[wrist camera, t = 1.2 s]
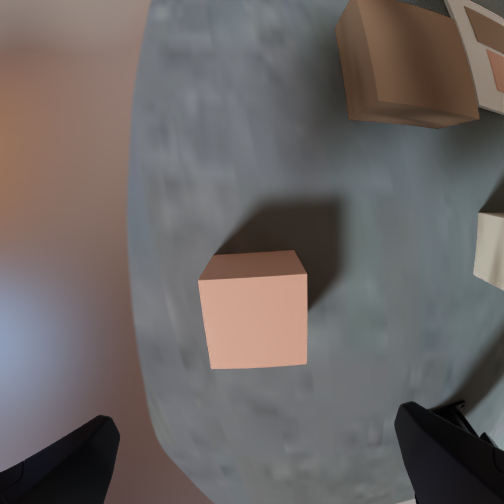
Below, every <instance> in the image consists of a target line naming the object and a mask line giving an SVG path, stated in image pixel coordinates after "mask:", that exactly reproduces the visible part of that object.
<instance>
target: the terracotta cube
mask: <svg viewBox="0 0 504 504" xmlns="http://www.w3.org/2000/svg"><path fill="white" fill-rule="evenodd" d="M198 283H199V291H200V298H201V306H202V313H203V319H204V326H205V332H206V339H207V345H208V351H209V357H210V363H211V369H236V368H260V367H277V366H290V365H301V364H307V273H306V271H305V269H304V267H303V266H302V264H301V262H300V260H299V258H298V256H297V255H296V253H295V251H294V250H286V251H270V252H255V253H239V254H224V255H213V257H212V258H211V260H210V261H209V263H208V265H207V266H206V268H205V270H204V271H203V273H202V275H201V276H200V278H199V280H198Z"/></svg>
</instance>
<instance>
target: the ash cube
mask: <svg viewBox="0 0 504 504" xmlns="http://www.w3.org/2000/svg"><path fill="white" fill-rule="evenodd" d="M473 275H475V276H477V277H479V278H481V279H483V280H484V281H486V282H488V283H490V284H492V285H494V286H496V287H498V288H500V289H501V290H503V291H504V213H478V231H477V245H476V256H475V265H474V273H473Z"/></svg>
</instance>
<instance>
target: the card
mask: <svg viewBox="0 0 504 504" xmlns="http://www.w3.org/2000/svg"><path fill="white" fill-rule="evenodd" d="M444 3H445V5H446V8H447V10H448V12H449V15H450V18H452V19H454V21H455V23H456V26H457V29H458V32H459V35H460V38H461V41H462V44H463V47H464V50H465V54H466V57H467V61H468V64H469V68H470V72H471V76H472V81H473V85H474V90H475V94H476V100H477V105H478V107H479V108H483V109H486V110H489V111H492V112H495V113H498V114H501V115H504V19H503V18H502V17H500V16H498V15H497V14H495V13H493V12H491V11H489V10H488V9H486V8H484V7H482V6H480V5H478V4H476V3H474V2H472V1H470V0H444Z"/></svg>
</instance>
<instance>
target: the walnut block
mask: <svg viewBox="0 0 504 504" xmlns="http://www.w3.org/2000/svg"><path fill="white" fill-rule="evenodd" d="M335 34H336V39H337V44H338V49H339V55H340V60H341V66H342V73H343V79H344V86H345V93H346V101H347V109H348V118H349V120H353V121H370V122H383V123H394V124H404V125H412V126H420V127H428V128H434V129H440V128H444V127H448V126H452V125H456V124H461V123H465V122H470V121H474V120H479V119H480V117H479V111H478V105H477V100H476V94H475V90H474V85H473V81H472V76H471V72H470V68H469V64H468V61H467V57H466V54H465V50H464V47H463V44H462V41H461V38H460V35H459V32H458V29H457V26H456V23H455V21H454V19H452V18H449V17H447V16H444V15H441V14H439V13H436V12H433V11H430V10H427V9H424V8H421V7H417V6H414V5H411V4H407V3H403V2H400V1H396V0H350V1H349V2H348V4H347V6H346V8H345V10H344V12H343V14H342V15H341V17H340V19H339V21H338V23H337V25H336V27H335Z"/></svg>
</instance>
